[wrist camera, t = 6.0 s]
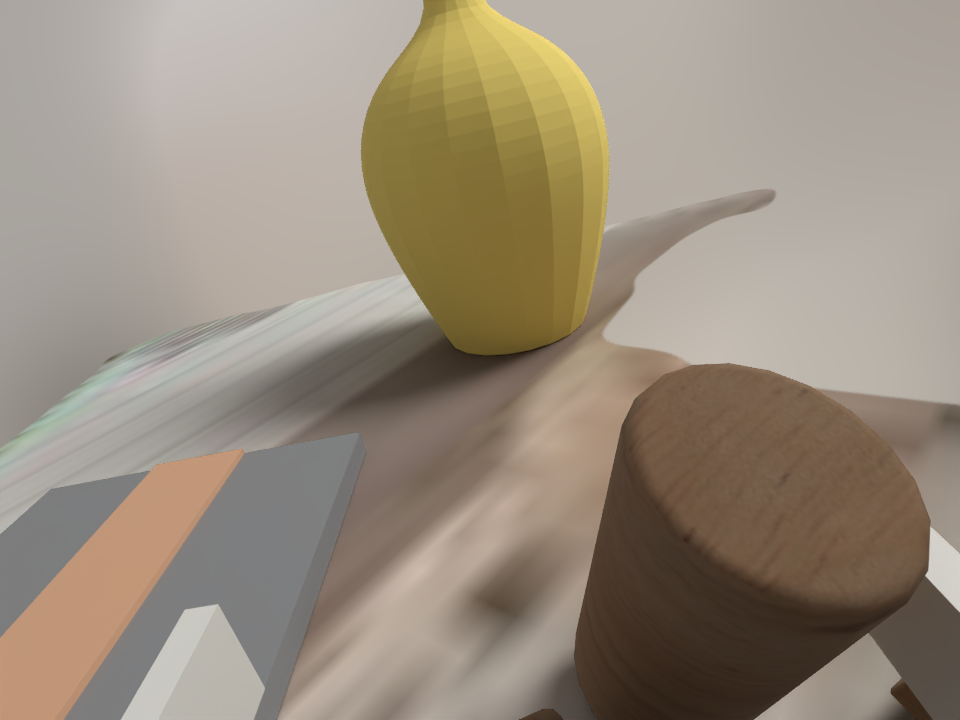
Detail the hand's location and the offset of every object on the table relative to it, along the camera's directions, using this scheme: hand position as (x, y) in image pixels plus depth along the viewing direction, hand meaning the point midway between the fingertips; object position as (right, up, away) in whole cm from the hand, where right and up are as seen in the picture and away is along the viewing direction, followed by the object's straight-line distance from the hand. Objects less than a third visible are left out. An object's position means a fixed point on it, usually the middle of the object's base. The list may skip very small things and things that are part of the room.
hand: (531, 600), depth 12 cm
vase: (+2, +8, +30) cm, 31 cm away
